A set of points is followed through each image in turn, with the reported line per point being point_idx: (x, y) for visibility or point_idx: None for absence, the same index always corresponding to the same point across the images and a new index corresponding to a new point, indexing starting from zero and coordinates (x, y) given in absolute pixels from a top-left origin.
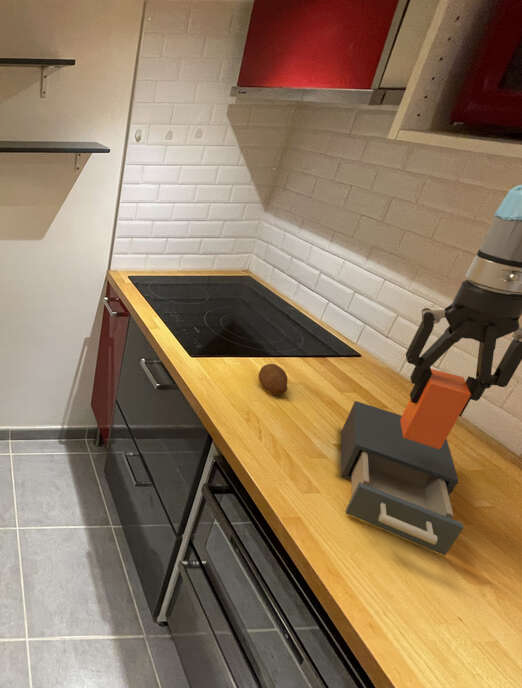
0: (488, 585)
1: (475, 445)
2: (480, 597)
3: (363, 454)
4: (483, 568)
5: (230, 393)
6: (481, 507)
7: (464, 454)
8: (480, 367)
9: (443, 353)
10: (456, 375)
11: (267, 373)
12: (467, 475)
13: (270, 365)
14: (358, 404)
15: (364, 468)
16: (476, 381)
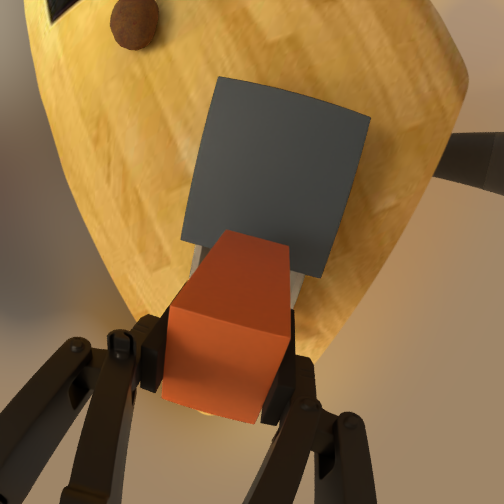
0: (315, 336)
1: (435, 67)
2: (298, 352)
3: (195, 247)
4: (323, 317)
5: (82, 82)
6: (381, 212)
7: (413, 92)
8: (256, 475)
9: (124, 460)
10: (267, 335)
11: (112, 27)
12: (397, 143)
13: (117, 5)
14: (220, 88)
15: None
16: (283, 412)
